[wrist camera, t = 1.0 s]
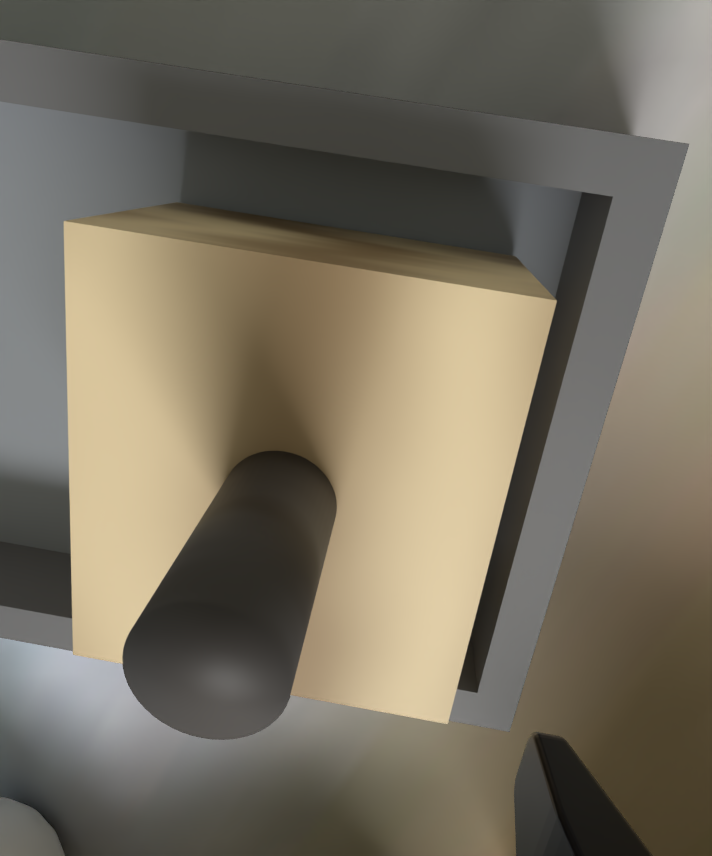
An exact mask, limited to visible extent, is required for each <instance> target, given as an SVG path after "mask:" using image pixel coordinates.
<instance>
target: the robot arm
mask: <svg viewBox="0 0 712 856" xmlns="http://www.w3.org/2000/svg"><path fill="white" fill-rule="evenodd" d="M514 803H515V832H516V856H652V854H651V853H650V852H649V850H648V849H647V848H646V846H645V845H644V844H643V842H642V841H641V840H640V838H639V837H638V836H637V834H636V833H635V832H634V830H633V829H632V828H631V826H630V825H629V824H628V822H627V821H626V820H625V818H624V817H623V816H622V814H621V813H620V812H619V810H618V809H617V808H616V806H615V805H614V804H613V802H612V801H611V800H610V798H609V797H608V796H607V794H606V793H605V792H604V790H603V789H602V788H601V786H600V785H599V784H598V782H597V781H596V780H595V778H594V777H593V776H592V774H591V773H590V772H589V770H588V769H587V768H586V766H585V765H584V764H583V762H582V761H581V760H580V758H579V757H578V756H577V754H576V753H575V752H574V750H573V749H572V748H571V746H570V745H569V744H568V742H567V741H566V740H565V739H563V738H562V737H560V736H555V735H550V734H544V733H539V732H535V733H532V734H531V735H530V737H529V739H528V741H527V744H526V747H525V750H524V754H523V757H522V760H521V763H520V766H519V769H518V772H517V775H516V780H515V788H514Z"/></svg>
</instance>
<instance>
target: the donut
mask: <svg viewBox="0 0 712 856" xmlns="http://www.w3.org/2000/svg"><path fill="white" fill-rule="evenodd" d="M0 856H65V854H64V852H63V849H62V846H61V844H60V841H59V839H58V836H57V834H56V831H55V830H54V829H53V828H52V827H51V826H50V824H49V823H48V822H47V821H46V820H45V819H44V818H43V817H42V815H41V814H40V813H39V812H38V811H36V810H35V809H34V808H32V807H30V806H28V805H25V804H22V803H20V802H17V801H14V800H12V799H9V798H4V797H0Z"/></svg>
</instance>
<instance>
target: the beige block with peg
mask: <svg viewBox="0 0 712 856" xmlns="http://www.w3.org/2000/svg"><path fill="white" fill-rule="evenodd" d="M64 264H65V310H66V356H67V401H68V447H69V493H70V539H71V584H72V630H73V655H78V656H83V657H89V658H94V659H100V660H105V661H110V662H116V663H121V664H123V669H124V674H125V677H126V680H127V683H128V685H129V687H130V689H131V691H132V692H133V694H134V695H135V697H136V698H137V700H138V701H139V702H140V703H141V704H142V705H143V707H144V708H145V709H146V710H147V711H149V712H150V713H151V714H152V715H153V716H154V717H156V718H157V719H159V720H160V721H161V722H163V723H165V724H166V725H168V726H170V727H172V728H174V729H176V730H178V731H181V732H183V733H186V734H189V735H192V736H196V737H201V738H207V739H219V740H225V739H236V738H241V737H245V736H249V735H252V734H254V733H257V732H259V731H261V730H263V729H264V728H266V727H268V726H269V725H270V724H272V723H273V722H274V721H275V720H276V719H277V718H278V717H279V716H280V715H281V713H282V712H283V710H284V709H285V707H286V705H287V703H288V701H289V698H290V695H294V696H299V697H304V698H310V699H315V700H321V701H326V702H331V703H337V704H342V705H348V706H353V707H358V708H364V709H369V710H375V711H380V712H385V713H391V714H396V715H402V716H407V717H412V718H418V719H423V720H428V721H434V722H439V723H445V724H448V721H449V717H450V713H451V710H452V706H453V702H454V698H455V694H456V690H457V686H458V682H459V679H460V675H461V671H462V667H463V663H464V659H465V655H466V651H467V648H468V644H469V640H470V636H471V632H472V628H473V624H474V620H475V617H476V613H477V609H478V605H479V601H480V597H481V593H482V589H483V586H484V582H485V578H486V574H487V570H488V566H489V562H490V558H491V555H492V551H493V547H494V543H495V539H496V535H497V531H498V527H499V524H500V520H501V516H502V512H503V508H504V504H505V500H506V496H507V493H508V489H509V485H510V481H511V477H512V473H513V469H514V465H515V462H516V458H517V454H518V450H519V446H520V442H521V438H522V434H523V430H524V427H525V423H526V419H527V415H528V411H529V407H530V403H531V399H532V396H533V392H534V388H535V384H536V380H537V376H538V372H539V368H540V365H541V361H542V357H543V353H544V349H545V345H546V341H547V337H548V334H549V330H550V326H551V322H552V318H553V314H554V310H555V306H556V303H557V300H556V299H555V298H554V297H553V296H552V295H551V294H550V293H549V291H548V290H547V289H546V288H545V287H544V286H543V285H542V284H541V283H540V282H539V281H538V280H537V279H536V278H535V276H534V275H533V274H532V273H531V272H530V271H529V270H528V269H527V268H526V267H525V266H524V265H523V264H522V263H521V261H520V260H519V259H518V258H517V257H516V256H512V255H505V254H499V253H493V252H486V251H480V250H474V249H468V248H461V247H455V246H449V245H443V244H436V243H430V242H424V241H417V240H411V239H405V238H399V237H392V236H386V235H380V234H373V233H367V232H361V231H355V230H348V229H342V228H336V227H329V226H323V225H317V224H311V223H304V222H298V221H292V220H286V219H279V218H273V217H267V216H260V215H254V214H248V213H242V212H235V211H229V210H223V209H216V208H210V207H204V206H198V205H191V204H185V203H179V202H175V203H169V204H163V205H157V206H151V207H145V208H139V209H133V210H127V211H121V212H115V213H109V214H103V215H97V216H91V217H85V218H79V219H73V220H67V221H64Z"/></svg>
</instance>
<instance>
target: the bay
mask: <svg viewBox="0 0 712 856" xmlns="http://www.w3.org/2000/svg"><path fill="white" fill-rule="evenodd" d="M688 147H689V144H686V143H680V142H673V141H666V140H660V139H653V138H647V137H640V136H633V135H627V134H620V133H614V132H607V131H600V130H594V129H587V128H581V127H574V126H568V125H561V124H554V123H548V122H541V121H535V120H528V119H521V118H515V117H508V116H502V115H495V114H488V113H482V112H475V111H469V110H462V109H455V108H449V107H442V106H436V105H429V104H422V103H416V102H409V101H403V100H396V99H390V98H383V97H376V96H370V95H363V94H357V93H350V92H343V91H337V90H330V89H324V88H317V87H310V86H304V85H297V84H291V83H284V82H277V81H271V80H264V79H258V78H251V77H245V76H238V75H231V74H225V73H218V72H212V71H205V70H198V69H192V68H185V67H179V66H172V65H165V64H159V63H152V62H146V61H139V60H132V59H126V58H119V57H113V56H106V55H99V54H93V53H86V52H80V51H73V50H67V49H60V48H53V47H47V46H40V45H34V44H27V43H20V42H14V41H7V40H1V39H0V638H5V639H11V640H16V641H22V642H27V643H32V644H38V645H43V646H49V647H54V648H59V649H65V650H70V651H73V630H72V584H71V539H70V493H69V447H68V401H67V356H66V310H65V264H64V221H67V220H73V219H79V218H85V217H91V216H97V215H103V214H109V213H115V212H121V211H127V210H133V209H139V208H145V207H151V206H157V205H163V204H169V203H175V202H179V203H185V204H191V205H198V206H204V207H210V208H216V209H223V210H229V211H235V212H242V213H248V214H254V215H260V216H267V217H273V218H279V219H286V220H292V221H298V222H304V223H311V224H317V225H323V226H329V227H336V228H342V229H348V230H355V231H361V232H367V233H373V234H380V235H386V236H392V237H399V238H405V239H411V240H417V241H424V242H430V243H436V244H443V245H449V246H455V247H461V248H468V249H474V250H480V251H486V252H493V253H499V254H505V255H512V256H516V257H517V258H518V259H519V260H520V261H521V263H522V264H523V265H524V266H525V267H526V268H527V269H528V270H529V271H530V272H531V273H532V274H533V275H534V276H535V278H536V279H537V280H538V281H539V282H540V283H541V284H542V285H543V286H544V287H545V288H546V289H547V290H548V291H549V293H550V294H551V295H552V296H553V297H554V298H555V299H556V300H557V303H556V306H555V310H554V314H553V318H552V322H551V326H550V330H549V334H548V337H547V341H546V345H545V349H544V353H543V357H542V361H541V365H540V368H539V372H538V376H537V380H536V384H535V388H534V392H533V396H532V399H531V403H530V407H529V411H528V415H527V419H526V423H525V427H524V430H523V434H522V438H521V442H520V446H519V450H518V454H517V458H516V462H515V465H514V469H513V473H512V477H511V481H510V485H509V489H508V493H507V496H506V500H505V504H504V508H503V512H502V516H501V520H500V524H499V527H498V531H497V535H496V539H495V543H494V547H493V551H492V555H491V558H490V562H489V566H488V570H487V574H486V578H485V582H484V586H483V589H482V593H481V597H480V601H479V605H478V609H477V613H476V617H475V620H474V624H473V628H472V632H471V636H470V640H469V644H468V648H467V651H466V655H465V659H464V663H463V667H462V671H461V675H460V679H459V682H458V686H457V690H456V694H455V698H454V702H453V706H452V710H451V713H450V717H449V721H453V722H459V723H464V724H470V725H475V726H480V727H486V728H491V729H497V730H502V731H507V732H510V728H511V725H512V722H513V718H514V715H515V712H516V709H517V705H518V702H519V699H520V696H521V692H522V689H523V686H524V682H525V679H526V676H527V673H528V669H529V666H530V663H531V660H532V656H533V653H534V650H535V647H536V643H537V640H538V637H539V633H540V630H541V627H542V624H543V620H544V617H545V614H546V611H547V607H548V604H549V601H550V598H551V594H552V591H553V588H554V584H555V581H556V578H557V575H558V571H559V568H560V565H561V562H562V558H563V555H564V552H565V549H566V545H567V542H568V539H569V535H570V532H571V529H572V526H573V522H574V519H575V516H576V513H577V509H578V506H579V503H580V499H581V496H582V493H583V490H584V486H585V483H586V480H587V477H588V473H589V470H590V467H591V464H592V460H593V457H594V454H595V450H596V447H597V444H598V441H599V437H600V434H601V431H602V428H603V424H604V421H605V418H606V415H607V411H608V408H609V405H610V401H611V398H612V395H613V392H614V388H615V385H616V382H617V379H618V375H619V372H620V369H621V366H622V362H623V359H624V356H625V352H626V349H627V346H628V343H629V339H630V336H631V333H632V330H633V326H634V323H635V320H636V316H637V313H638V310H639V307H640V303H641V300H642V297H643V294H644V290H645V287H646V284H647V281H648V277H649V274H650V271H651V267H652V264H653V261H654V258H655V254H656V251H657V248H658V245H659V241H660V238H661V235H662V232H663V228H664V225H665V222H666V218H667V215H668V212H669V209H670V205H671V202H672V199H673V196H674V192H675V189H676V186H677V183H678V179H679V176H680V173H681V169H682V166H683V163H684V160H685V156H686V153H687V150H688Z"/></svg>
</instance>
